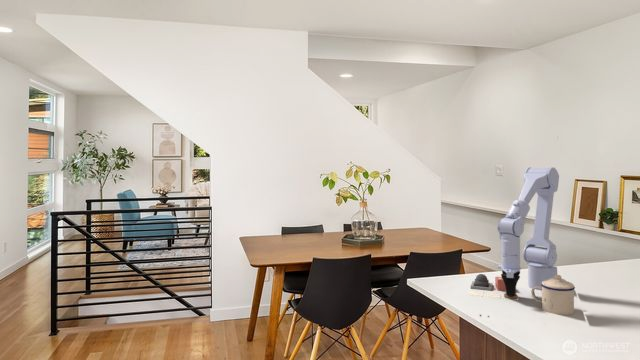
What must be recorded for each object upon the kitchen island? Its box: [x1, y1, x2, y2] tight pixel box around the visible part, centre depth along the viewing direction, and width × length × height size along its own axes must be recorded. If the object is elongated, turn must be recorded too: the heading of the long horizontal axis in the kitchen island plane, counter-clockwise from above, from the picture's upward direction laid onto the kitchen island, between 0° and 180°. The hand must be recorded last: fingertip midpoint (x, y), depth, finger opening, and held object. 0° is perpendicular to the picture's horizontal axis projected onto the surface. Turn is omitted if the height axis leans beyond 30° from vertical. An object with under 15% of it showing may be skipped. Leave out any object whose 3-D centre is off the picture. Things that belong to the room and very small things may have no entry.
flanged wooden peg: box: [503, 288, 519, 300], centre depth 145 cm, size 4×4×6 cm
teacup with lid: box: [531, 274, 576, 316], centre depth 133 cm, size 12×9×12 cm
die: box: [494, 276, 506, 292], centre depth 154 cm, size 4×4×4 cm
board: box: [468, 280, 519, 301], centre depth 151 cm, size 18×18×2 cm
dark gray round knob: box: [474, 273, 490, 287], centre depth 157 cm, size 5×5×5 cm
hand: (510, 293), depth 145 cm, fingers closed on flanged wooden peg, 3 cm apart
